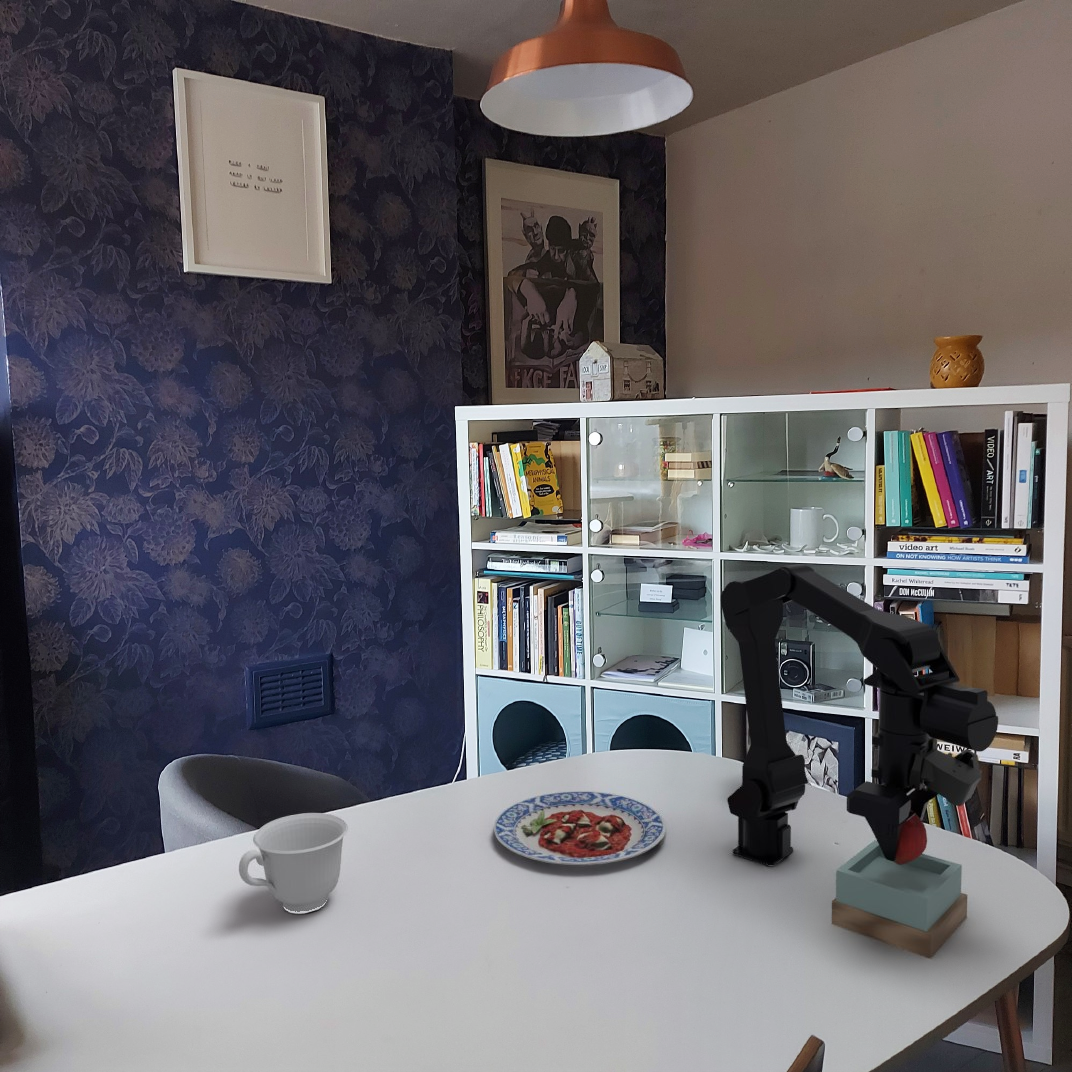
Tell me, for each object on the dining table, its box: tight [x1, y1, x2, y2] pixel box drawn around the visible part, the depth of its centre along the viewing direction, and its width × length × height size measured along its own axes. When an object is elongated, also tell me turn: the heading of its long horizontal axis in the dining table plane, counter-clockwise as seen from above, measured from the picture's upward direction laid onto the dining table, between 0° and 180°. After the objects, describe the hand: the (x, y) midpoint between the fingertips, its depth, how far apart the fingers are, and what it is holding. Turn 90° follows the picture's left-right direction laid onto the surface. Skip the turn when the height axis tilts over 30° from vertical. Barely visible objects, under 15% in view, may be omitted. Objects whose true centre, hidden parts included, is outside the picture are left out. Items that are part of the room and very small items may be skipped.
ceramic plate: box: [493, 790, 667, 866], centre depth 144 cm, size 26×26×3 cm
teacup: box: [238, 812, 349, 912], centre depth 124 cm, size 12×15×10 cm
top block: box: [835, 839, 963, 932], centre depth 117 cm, size 11×11×4 cm
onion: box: [894, 810, 928, 865], centre depth 117 cm, size 6×6×8 cm
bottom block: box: [831, 892, 968, 960], centre depth 118 cm, size 12×12×4 cm
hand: (900, 851), depth 117 cm, fingers closed on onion, 6 cm apart
